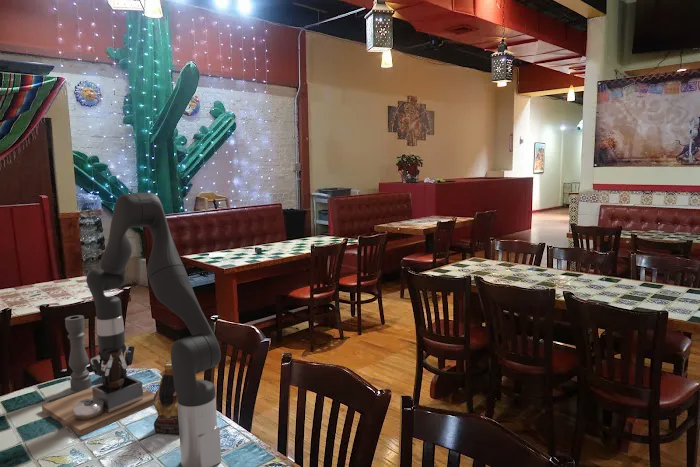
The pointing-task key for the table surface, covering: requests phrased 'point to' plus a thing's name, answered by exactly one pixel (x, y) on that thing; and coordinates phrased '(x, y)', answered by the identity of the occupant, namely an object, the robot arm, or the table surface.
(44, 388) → the table surface
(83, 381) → the candle holder
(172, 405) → the statue
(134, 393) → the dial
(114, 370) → the bolt
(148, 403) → the wooden cutting board
